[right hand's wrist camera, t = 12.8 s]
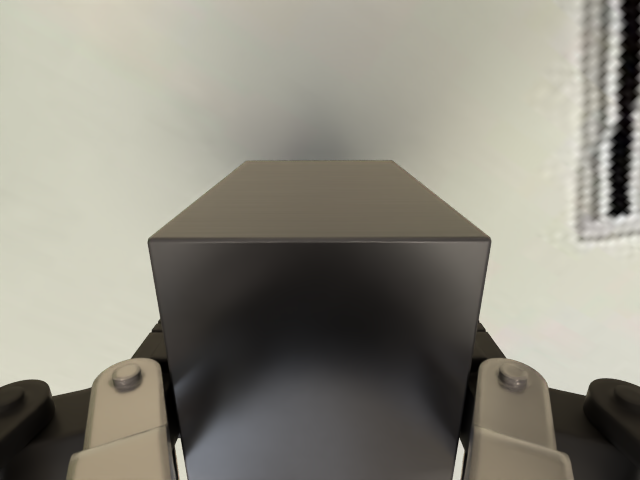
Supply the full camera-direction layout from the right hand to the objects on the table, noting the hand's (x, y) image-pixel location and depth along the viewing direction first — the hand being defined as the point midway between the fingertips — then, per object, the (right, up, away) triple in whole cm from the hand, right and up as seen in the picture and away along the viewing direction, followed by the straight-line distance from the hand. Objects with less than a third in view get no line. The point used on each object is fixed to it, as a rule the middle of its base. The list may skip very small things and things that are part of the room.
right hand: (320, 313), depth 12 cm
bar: (0, -7, +8) cm, 10 cm away
